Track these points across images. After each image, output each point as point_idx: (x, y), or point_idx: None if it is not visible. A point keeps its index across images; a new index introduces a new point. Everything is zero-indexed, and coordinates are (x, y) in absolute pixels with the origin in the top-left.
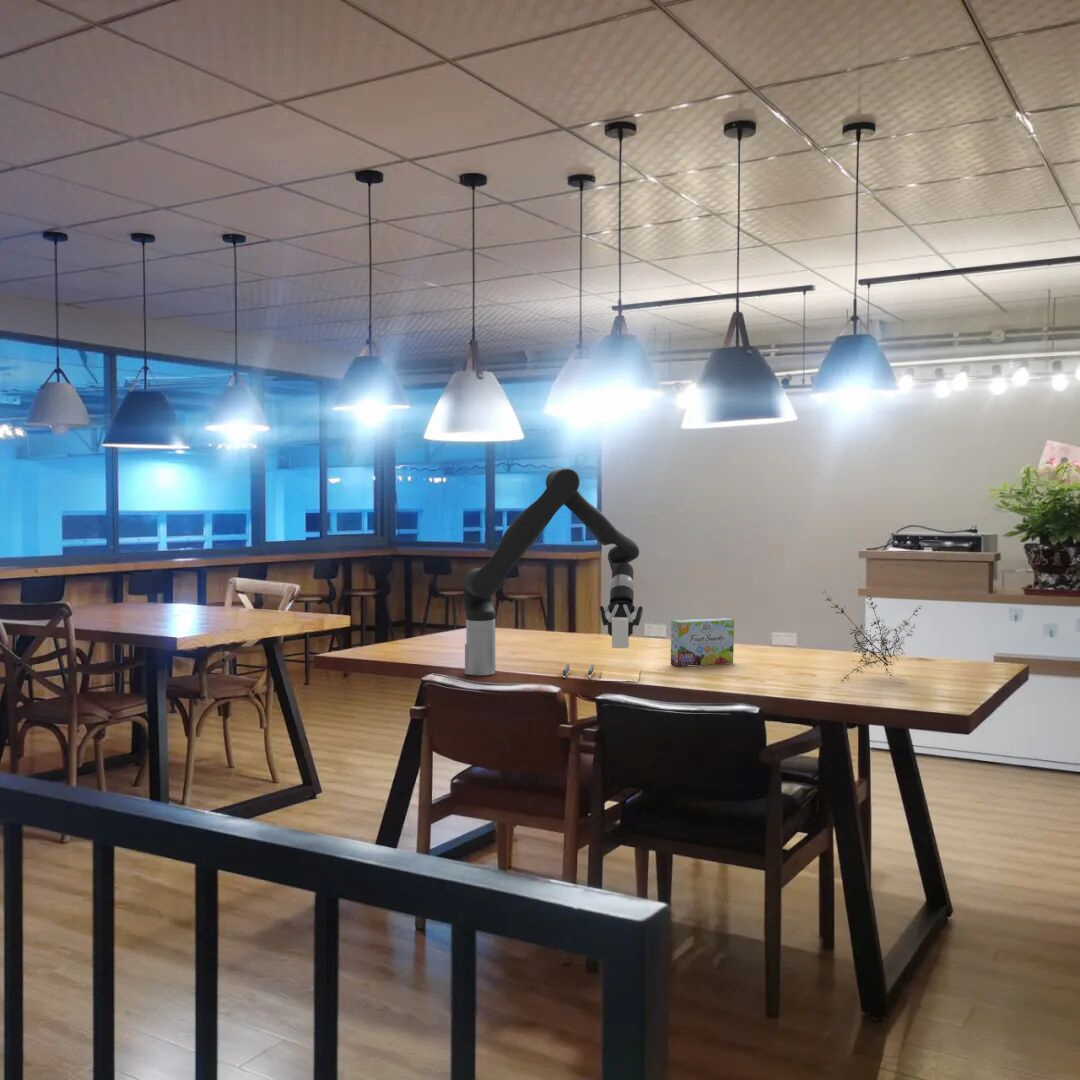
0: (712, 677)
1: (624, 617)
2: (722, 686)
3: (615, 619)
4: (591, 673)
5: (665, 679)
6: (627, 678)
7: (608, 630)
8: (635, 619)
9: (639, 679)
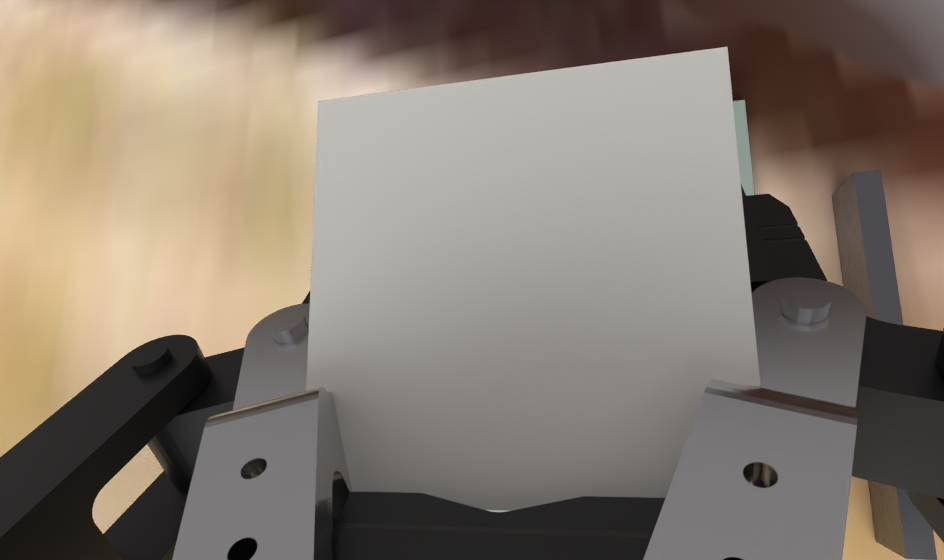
0: (5, 402)
1: (409, 428)
2: (7, 120)
3: (624, 64)
4: (850, 245)
5: (277, 282)
6: None
7: (773, 208)
8: (179, 359)
9: None
